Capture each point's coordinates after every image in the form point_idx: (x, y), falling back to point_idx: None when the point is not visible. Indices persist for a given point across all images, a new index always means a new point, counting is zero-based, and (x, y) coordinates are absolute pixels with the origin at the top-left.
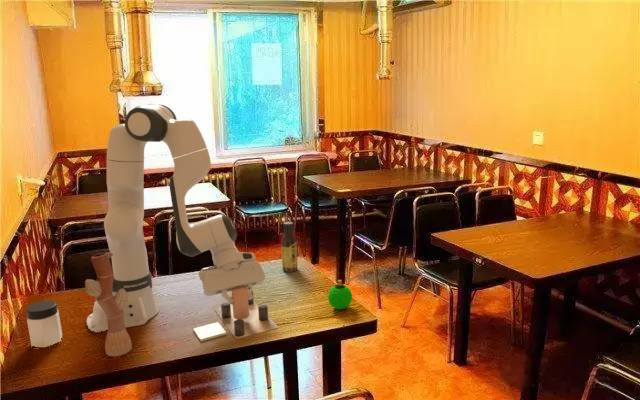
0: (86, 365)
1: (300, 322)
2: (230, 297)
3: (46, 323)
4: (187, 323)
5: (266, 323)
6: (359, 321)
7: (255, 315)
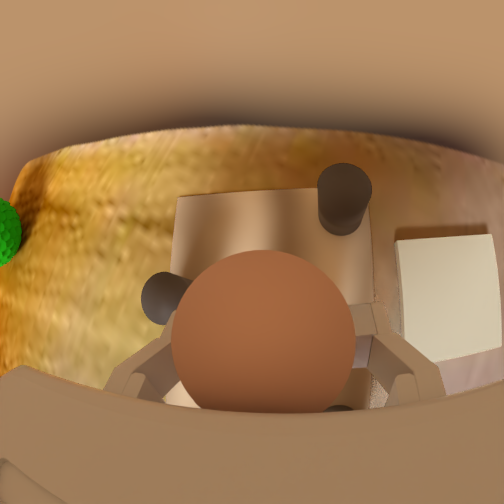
0: None
1: (107, 206)
2: (369, 332)
3: None
4: None
5: (200, 253)
6: (37, 159)
7: None
